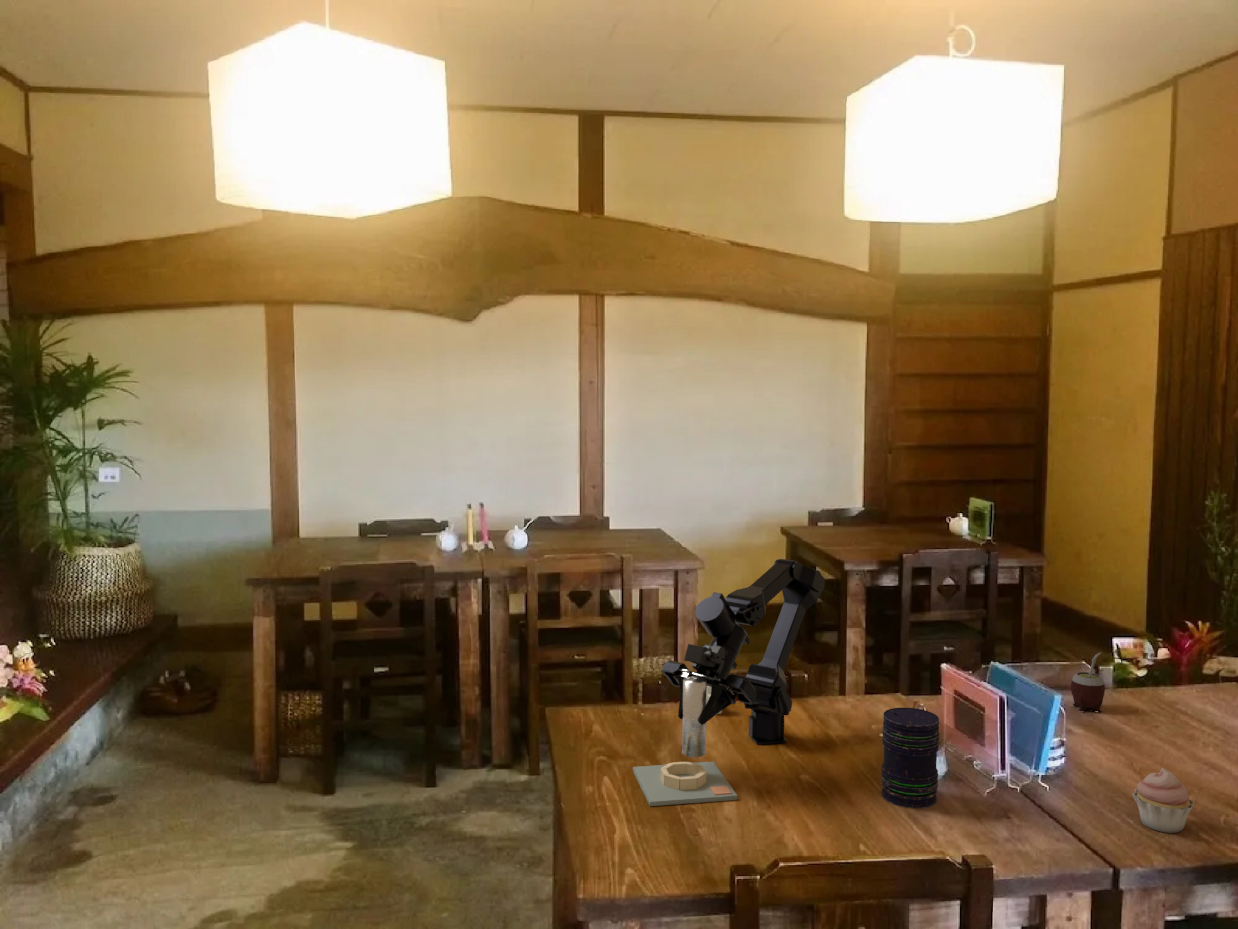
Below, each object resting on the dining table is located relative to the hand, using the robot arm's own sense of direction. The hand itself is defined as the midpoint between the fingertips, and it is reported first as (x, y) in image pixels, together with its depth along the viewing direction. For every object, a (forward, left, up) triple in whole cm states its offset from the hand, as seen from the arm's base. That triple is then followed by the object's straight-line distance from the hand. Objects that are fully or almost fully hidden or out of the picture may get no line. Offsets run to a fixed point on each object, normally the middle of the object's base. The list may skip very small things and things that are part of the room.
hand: (690, 720), depth 186 cm
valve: (-15, -40, -12) cm, 45 cm away
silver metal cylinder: (-1, -1, -7) cm, 7 cm away
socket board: (+2, +1, -12) cm, 12 cm away
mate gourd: (-99, -24, -12) cm, 103 cm away
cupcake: (-74, +31, -12) cm, 82 cm away
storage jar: (-37, +13, -12) cm, 41 cm away
